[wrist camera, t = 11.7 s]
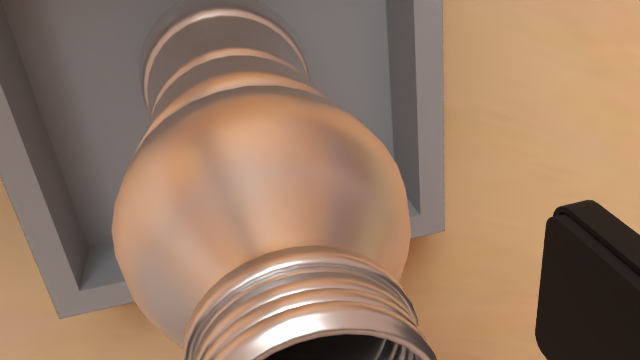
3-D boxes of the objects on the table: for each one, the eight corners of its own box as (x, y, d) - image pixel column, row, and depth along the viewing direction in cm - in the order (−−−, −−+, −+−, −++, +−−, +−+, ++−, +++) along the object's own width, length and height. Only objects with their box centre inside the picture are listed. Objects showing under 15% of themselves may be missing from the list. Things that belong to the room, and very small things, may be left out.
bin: (-80, -145, 21) (-134, -150, 17) (395, -196, 24) (440, -212, 20) (73, 261, 30) (59, 319, 26) (411, 188, 32) (444, 231, 29)
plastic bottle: (270, 142, 28) (439, 562, 11) (124, 108, 26) (40, 571, 8) (314, 11, 26) (618, 274, 9) (158, -41, 24) (139, 180, 6)
